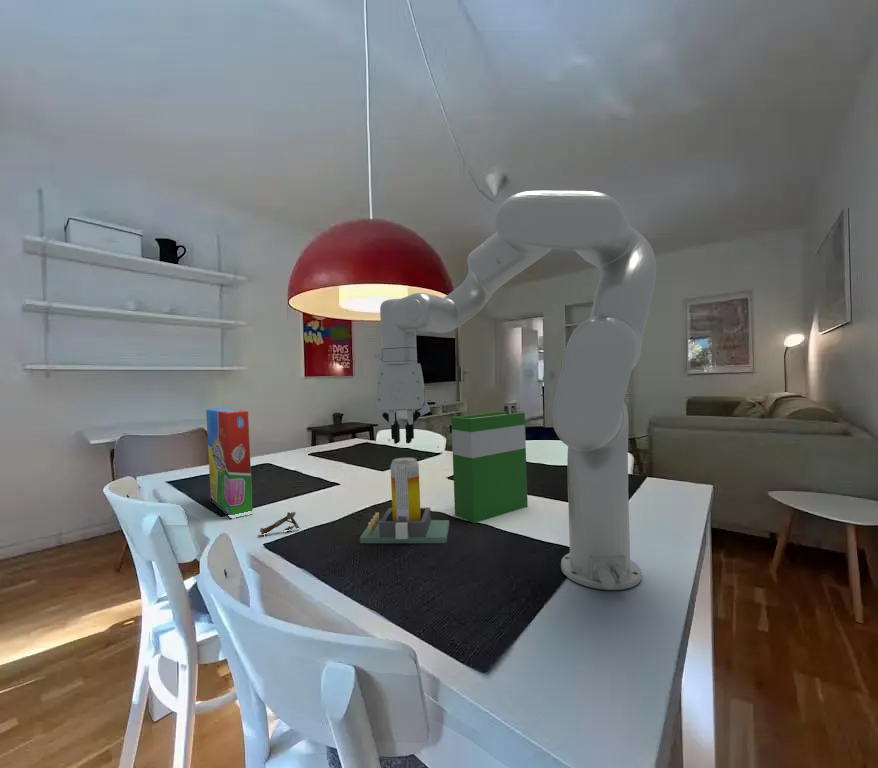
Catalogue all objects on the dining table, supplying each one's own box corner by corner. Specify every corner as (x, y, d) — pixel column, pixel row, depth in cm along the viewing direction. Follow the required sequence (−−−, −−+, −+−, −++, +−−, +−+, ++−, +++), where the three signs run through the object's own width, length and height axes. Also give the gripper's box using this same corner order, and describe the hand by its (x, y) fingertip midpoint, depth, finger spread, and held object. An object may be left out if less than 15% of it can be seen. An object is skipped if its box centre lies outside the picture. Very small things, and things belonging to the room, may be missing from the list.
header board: (445, 544, 84) (445, 524, 84) (358, 544, 85) (357, 524, 85) (449, 525, 94) (448, 507, 94) (372, 525, 96) (371, 507, 96)
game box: (210, 503, 119) (205, 409, 119) (230, 498, 123) (226, 407, 122) (231, 520, 104) (225, 412, 103) (253, 514, 107) (248, 410, 107)
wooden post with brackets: (303, 527, 94) (293, 510, 94) (269, 547, 92) (259, 530, 91) (303, 524, 96) (293, 508, 95) (269, 544, 94) (260, 527, 93)
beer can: (422, 523, 93) (420, 456, 93) (419, 533, 87) (416, 462, 86) (396, 523, 93) (393, 457, 93) (390, 533, 87) (387, 463, 87)
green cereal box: (507, 500, 111) (504, 411, 111) (527, 506, 105) (524, 412, 105) (454, 514, 101) (451, 417, 101) (474, 523, 95) (470, 419, 95)
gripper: (358, 358, 86) (362, 446, 87) (434, 355, 85) (437, 444, 85) (368, 359, 94) (371, 440, 94) (437, 356, 92) (440, 439, 93)
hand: (403, 441), depth 90 cm, fingers closed
